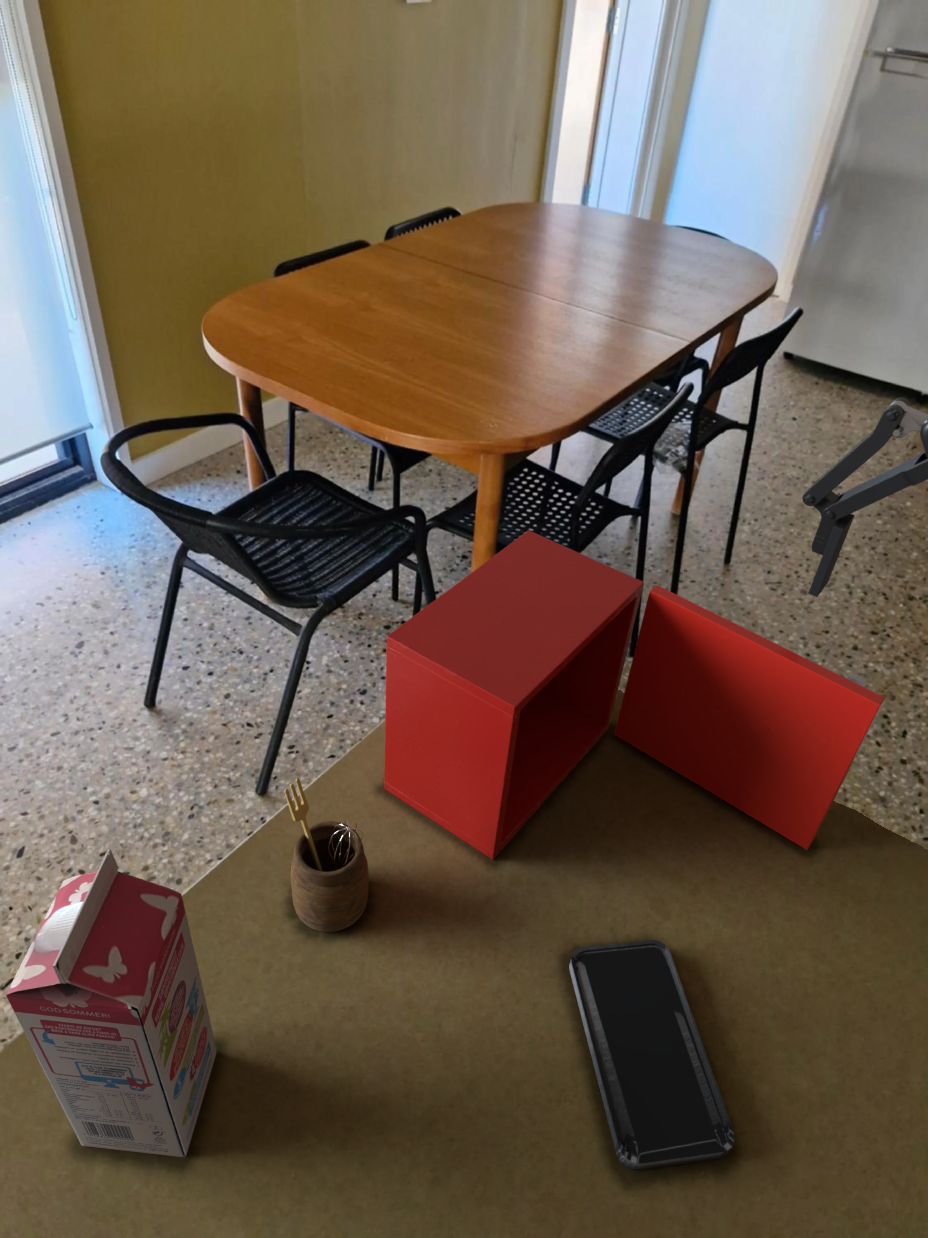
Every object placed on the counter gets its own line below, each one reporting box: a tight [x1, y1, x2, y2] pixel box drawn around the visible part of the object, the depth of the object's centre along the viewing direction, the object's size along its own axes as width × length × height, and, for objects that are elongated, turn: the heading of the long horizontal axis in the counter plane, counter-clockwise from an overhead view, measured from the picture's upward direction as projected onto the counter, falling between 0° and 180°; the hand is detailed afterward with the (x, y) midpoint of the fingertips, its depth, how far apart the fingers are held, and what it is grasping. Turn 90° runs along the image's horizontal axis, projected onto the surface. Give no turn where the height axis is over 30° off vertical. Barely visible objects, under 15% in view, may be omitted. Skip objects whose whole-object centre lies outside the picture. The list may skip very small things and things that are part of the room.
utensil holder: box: [284, 777, 370, 933], centre depth 67 cm, size 6×6×12 cm
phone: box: [568, 939, 735, 1171], centre depth 62 cm, size 8×1×15 cm
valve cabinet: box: [383, 529, 645, 860], centre depth 78 cm, size 12×20×18 cm, turn 143°
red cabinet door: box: [613, 584, 886, 851], centre depth 79 cm, size 8×20×18 cm, turn 50°
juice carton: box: [5, 849, 218, 1158], centre depth 51 cm, size 7×7×22 cm
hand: (902, 622), depth 70 cm, fingers open, 13 cm apart
